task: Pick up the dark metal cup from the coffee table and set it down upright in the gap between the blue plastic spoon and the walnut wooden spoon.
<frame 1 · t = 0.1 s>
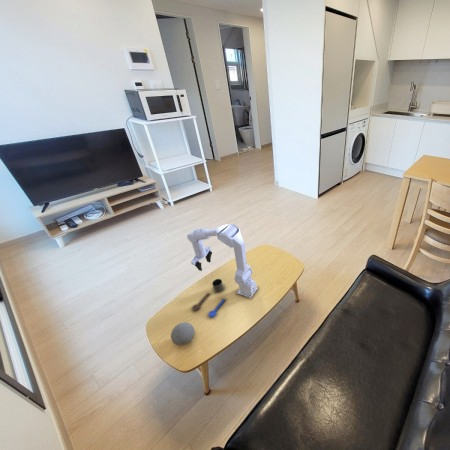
hand: (204, 265, 143), 10 cm above the table, tool pointing down, fingers open, 7 cm apart
wooden spoon: (201, 302, 133), on the table
dark metal cup: (218, 288, 142), on the table
decorative ball: (185, 339, 116), on the table
blue spoon: (217, 308, 130), on the table
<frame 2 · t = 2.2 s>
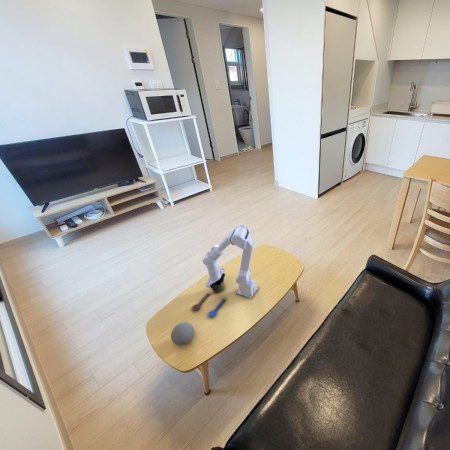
hand: (218, 287, 141), 1 cm above the table, tool pointing down, fingers closed on dark metal cup, 5 cm apart
dark metal cup: (218, 288, 142), on the table, touching gripper
everything else where it was.
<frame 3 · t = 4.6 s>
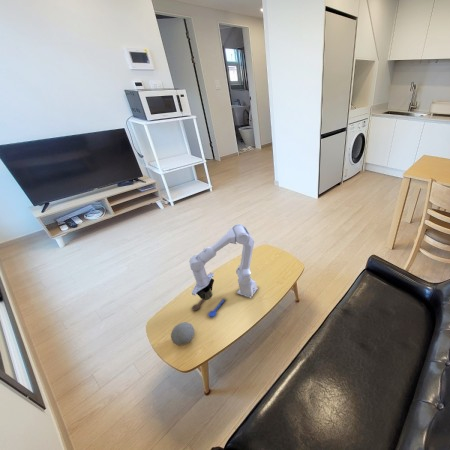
hand: (206, 294, 128), 8 cm above the table, tool pointing down, fingers closed on dark metal cup, 5 cm apart
dark metal cup: (207, 295, 129), point 7 cm above the table, touching gripper
everything else where it was.
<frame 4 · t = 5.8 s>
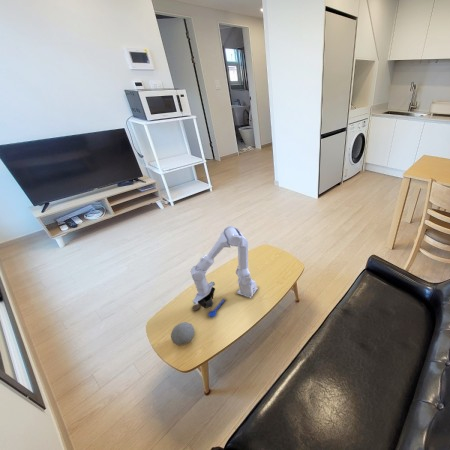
hand: (207, 302, 130), 3 cm above the table, tool pointing down, fingers closed on dark metal cup, 5 cm apart
dark metal cup: (208, 304, 131), point 1 cm above the table, touching gripper
everything else where it was.
when the fingers open (1 cm above the table, at t = 6.9 s): dark metal cup stays where it is, on the table.
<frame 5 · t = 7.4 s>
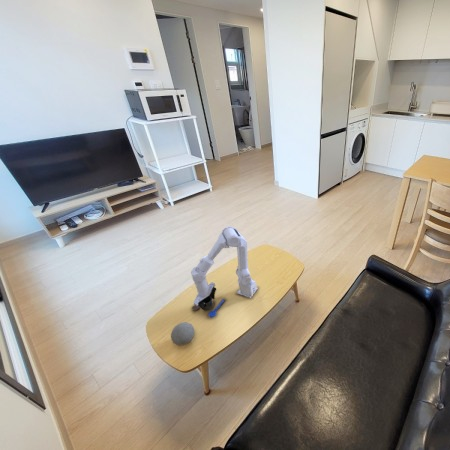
hand: (208, 303, 130), 2 cm above the table, tool pointing down, fingers open, 7 cm apart
dark metal cup: (208, 305, 132), on the table
everything else where it was.
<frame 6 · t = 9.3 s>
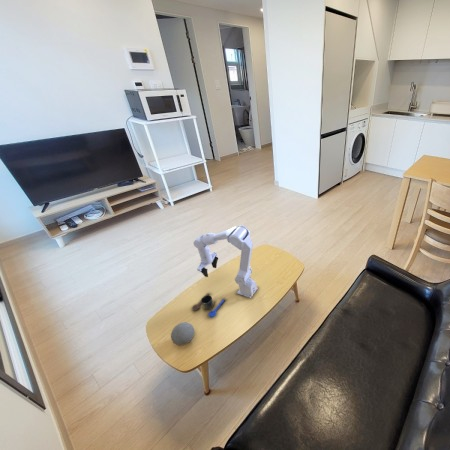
hand: (210, 271, 140), 9 cm above the table, tool pointing down, fingers open, 7 cm apart
nothing on the table moved.
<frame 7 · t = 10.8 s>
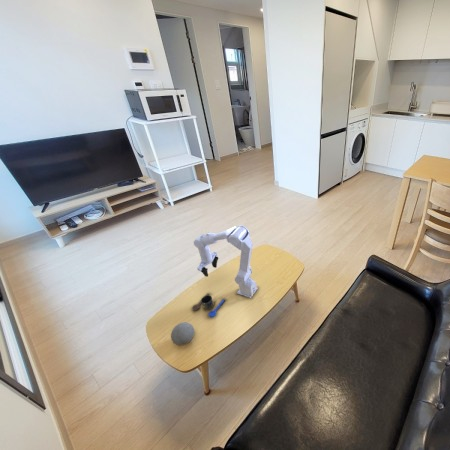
hand: (210, 271, 140), 9 cm above the table, tool pointing down, fingers open, 7 cm apart
nothing on the table moved.
at the end: dark metal cup 0.1 cm from the target spot, on the table; dark metal cup tilted 0°; the gripper is holding nothing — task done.
